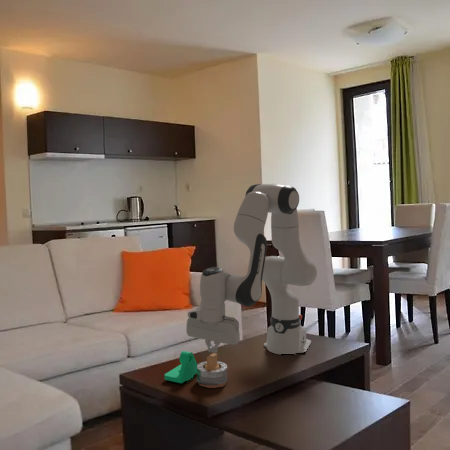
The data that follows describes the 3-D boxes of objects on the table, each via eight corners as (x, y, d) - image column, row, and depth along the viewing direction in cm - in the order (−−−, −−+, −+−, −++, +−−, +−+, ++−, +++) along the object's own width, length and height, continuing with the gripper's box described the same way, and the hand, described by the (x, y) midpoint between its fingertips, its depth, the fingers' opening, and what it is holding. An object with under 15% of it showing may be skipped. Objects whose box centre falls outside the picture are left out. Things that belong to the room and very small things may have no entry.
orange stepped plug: (209, 368, 197) (209, 351, 196) (222, 370, 194) (222, 354, 193) (201, 372, 192) (202, 356, 191) (214, 375, 190) (214, 359, 189)
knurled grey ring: (207, 374, 201) (207, 358, 200) (232, 380, 195) (232, 364, 195) (191, 384, 192) (191, 368, 191) (217, 391, 186) (217, 374, 186)
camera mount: (181, 370, 205) (181, 344, 203) (198, 374, 201) (198, 347, 200) (163, 382, 194) (163, 354, 193) (181, 386, 191) (181, 358, 189)
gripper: (243, 316, 188) (242, 354, 190) (193, 307, 198) (193, 344, 200) (234, 321, 183) (234, 360, 185) (183, 312, 193) (184, 349, 195)
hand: (212, 352), depth 192 cm, fingers closed
